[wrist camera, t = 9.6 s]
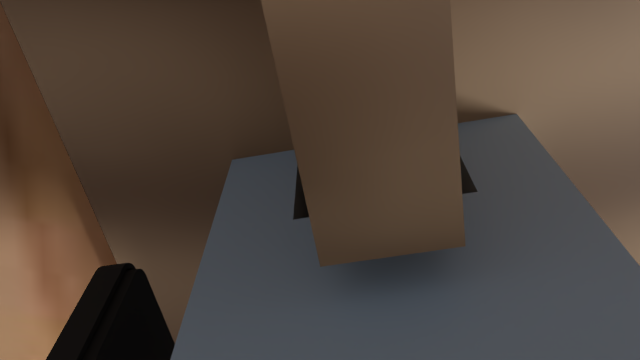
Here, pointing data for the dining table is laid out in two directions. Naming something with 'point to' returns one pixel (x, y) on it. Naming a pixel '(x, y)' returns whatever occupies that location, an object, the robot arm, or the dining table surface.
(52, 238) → the dining table surface
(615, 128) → the walnut stand
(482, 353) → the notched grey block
